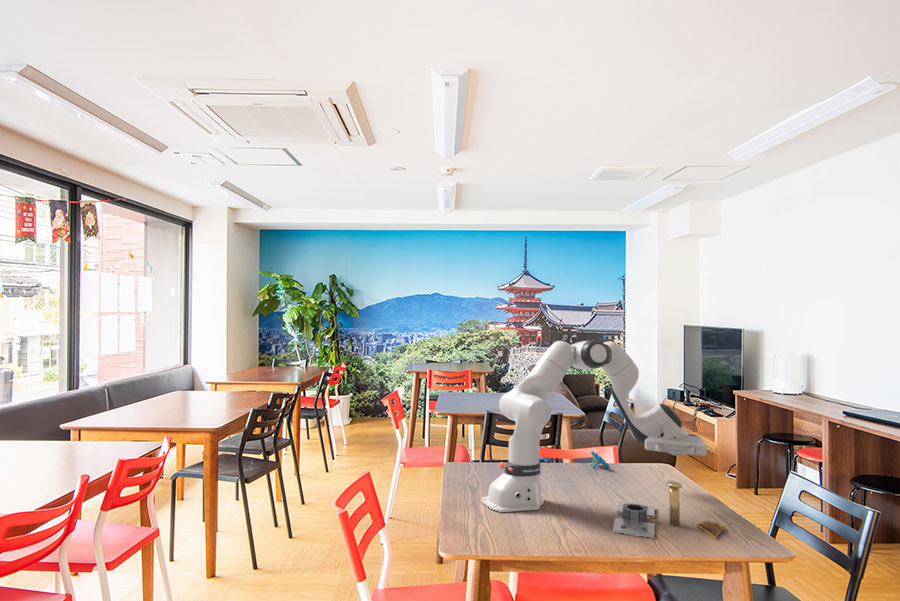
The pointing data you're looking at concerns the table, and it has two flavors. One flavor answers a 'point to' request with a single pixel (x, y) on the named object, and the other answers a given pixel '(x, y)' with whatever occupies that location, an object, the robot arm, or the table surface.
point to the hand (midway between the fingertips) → (674, 451)
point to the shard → (711, 528)
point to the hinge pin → (674, 503)
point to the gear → (598, 460)
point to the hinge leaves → (635, 519)
